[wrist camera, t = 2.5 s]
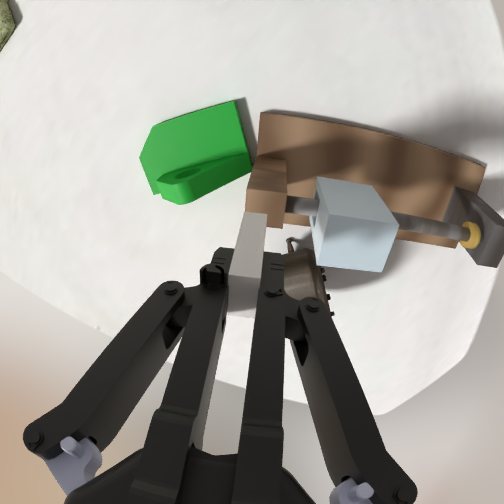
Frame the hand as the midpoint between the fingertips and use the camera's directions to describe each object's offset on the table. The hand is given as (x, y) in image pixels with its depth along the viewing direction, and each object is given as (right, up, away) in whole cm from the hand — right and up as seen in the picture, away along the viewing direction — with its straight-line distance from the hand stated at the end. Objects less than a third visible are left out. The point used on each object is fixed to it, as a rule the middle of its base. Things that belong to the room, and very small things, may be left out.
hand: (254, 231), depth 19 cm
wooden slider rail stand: (+14, +6, +10) cm, 19 cm away
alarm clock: (+7, -3, +18) cm, 19 cm away
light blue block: (+8, +3, +5) cm, 10 cm away
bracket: (-7, +10, +11) cm, 16 cm away
